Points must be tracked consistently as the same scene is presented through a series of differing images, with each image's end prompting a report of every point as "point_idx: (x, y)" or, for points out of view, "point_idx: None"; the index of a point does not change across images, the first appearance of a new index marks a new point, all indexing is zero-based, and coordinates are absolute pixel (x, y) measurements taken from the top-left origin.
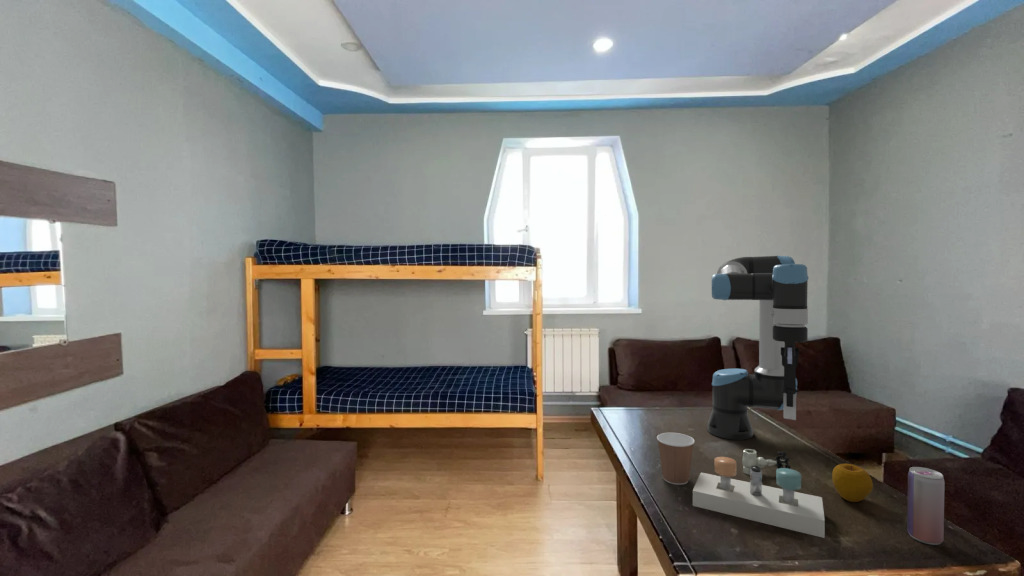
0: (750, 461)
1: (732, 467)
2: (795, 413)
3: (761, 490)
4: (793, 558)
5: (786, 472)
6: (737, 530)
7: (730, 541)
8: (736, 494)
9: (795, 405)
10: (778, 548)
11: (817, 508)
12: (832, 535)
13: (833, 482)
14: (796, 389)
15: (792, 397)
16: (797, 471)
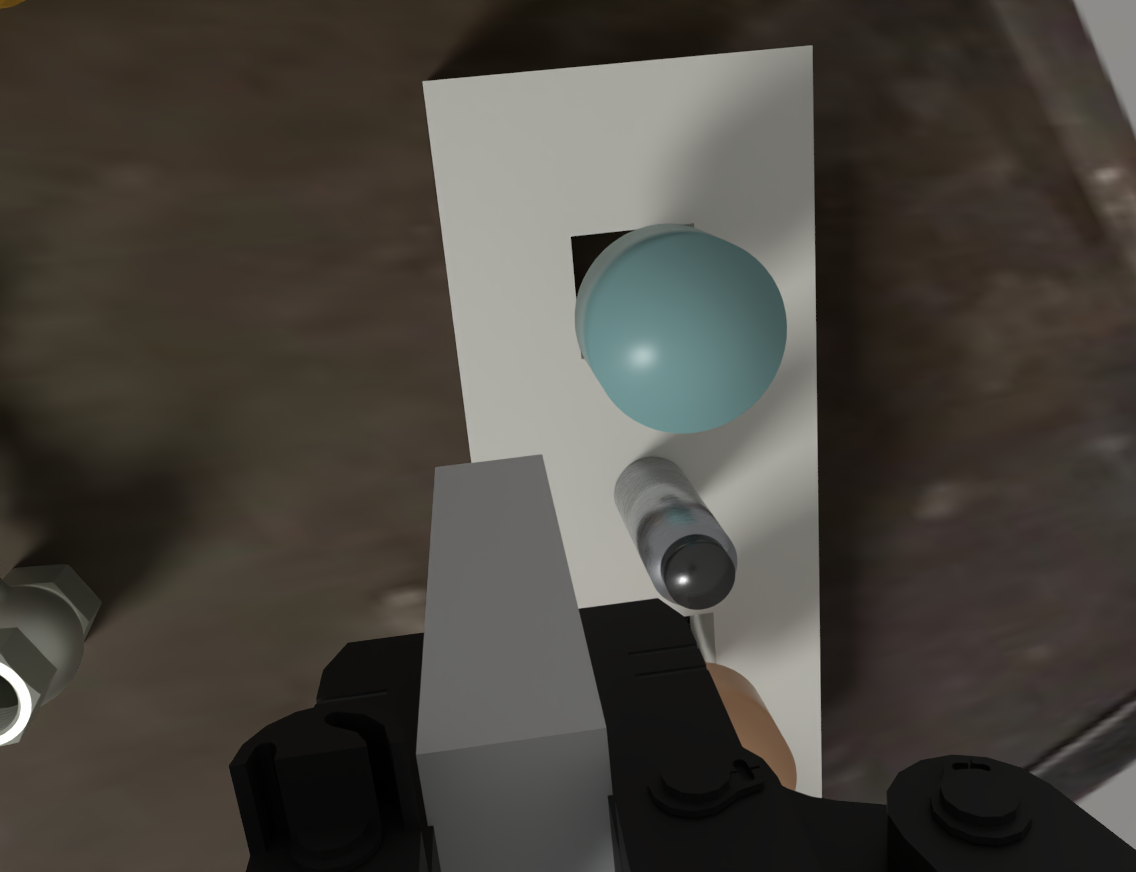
0: (61, 648)
1: (763, 715)
2: (551, 506)
3: (669, 470)
4: (1076, 192)
5: (696, 353)
6: (932, 485)
7: (1058, 488)
8: (733, 588)
9: (565, 578)
10: (1014, 272)
11: (645, 100)
12: (708, 8)
13: (18, 3)
14: (267, 820)
15: (732, 737)
16: (613, 274)
